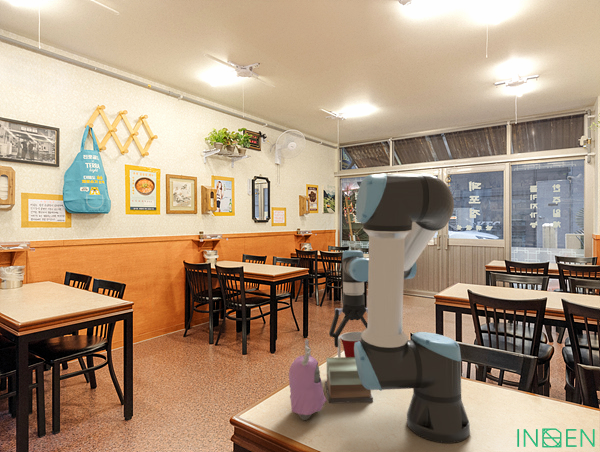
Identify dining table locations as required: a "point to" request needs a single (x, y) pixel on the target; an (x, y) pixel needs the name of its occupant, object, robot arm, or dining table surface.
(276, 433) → the dining table surface
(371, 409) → the dining table surface
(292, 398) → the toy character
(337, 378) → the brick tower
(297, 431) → the dining table surface
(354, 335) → the plastic cup
